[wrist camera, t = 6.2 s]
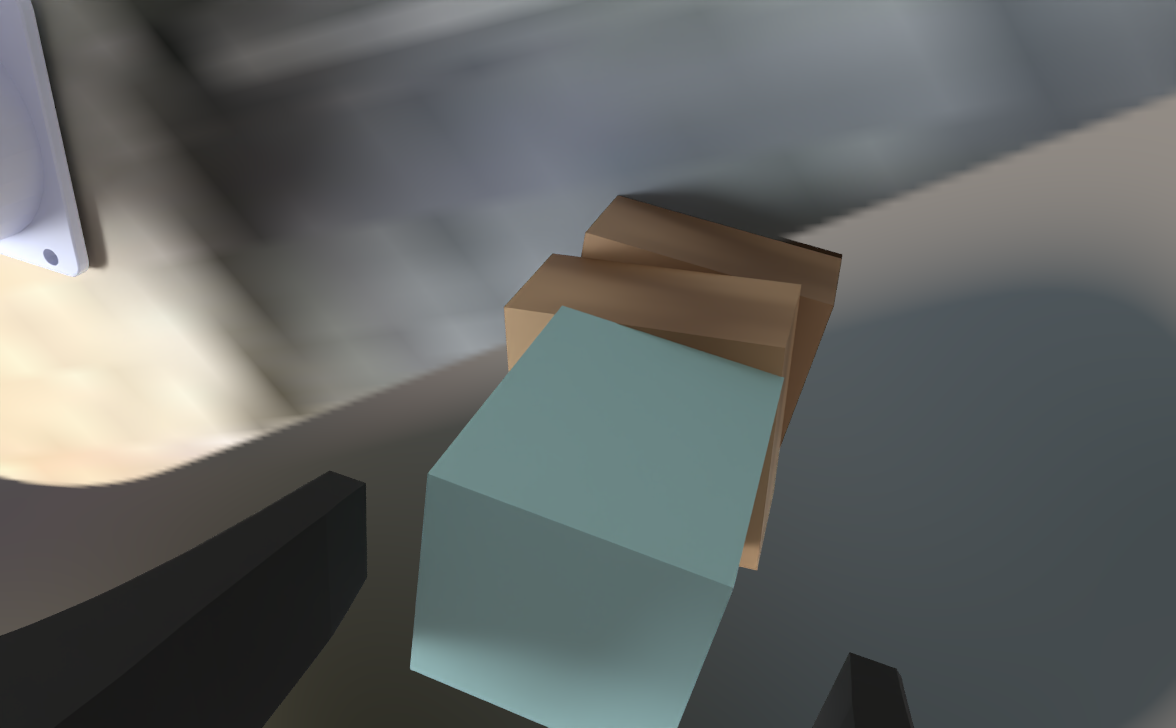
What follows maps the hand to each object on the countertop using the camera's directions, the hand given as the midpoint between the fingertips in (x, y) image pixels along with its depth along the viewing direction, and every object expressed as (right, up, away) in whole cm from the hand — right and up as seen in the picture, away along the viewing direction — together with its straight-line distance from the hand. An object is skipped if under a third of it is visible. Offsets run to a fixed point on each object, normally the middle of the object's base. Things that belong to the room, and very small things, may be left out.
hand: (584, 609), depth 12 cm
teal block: (+1, +2, +3) cm, 4 cm away
